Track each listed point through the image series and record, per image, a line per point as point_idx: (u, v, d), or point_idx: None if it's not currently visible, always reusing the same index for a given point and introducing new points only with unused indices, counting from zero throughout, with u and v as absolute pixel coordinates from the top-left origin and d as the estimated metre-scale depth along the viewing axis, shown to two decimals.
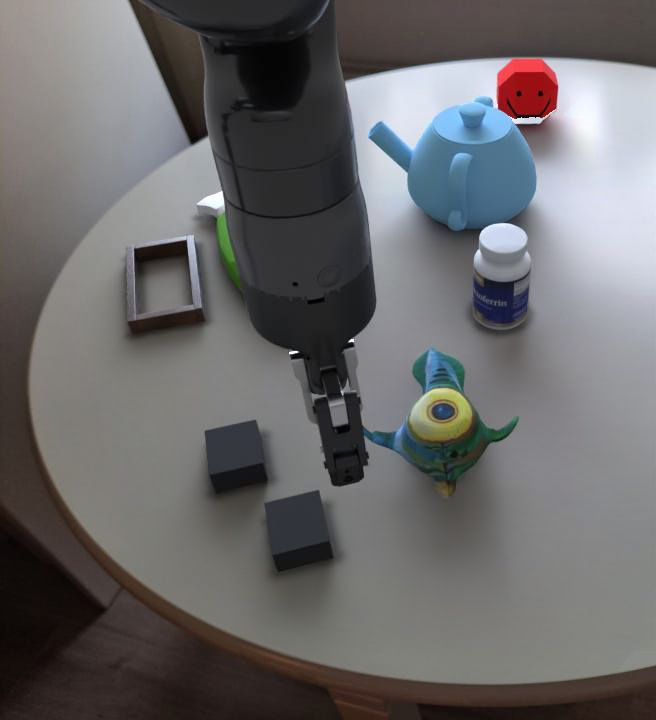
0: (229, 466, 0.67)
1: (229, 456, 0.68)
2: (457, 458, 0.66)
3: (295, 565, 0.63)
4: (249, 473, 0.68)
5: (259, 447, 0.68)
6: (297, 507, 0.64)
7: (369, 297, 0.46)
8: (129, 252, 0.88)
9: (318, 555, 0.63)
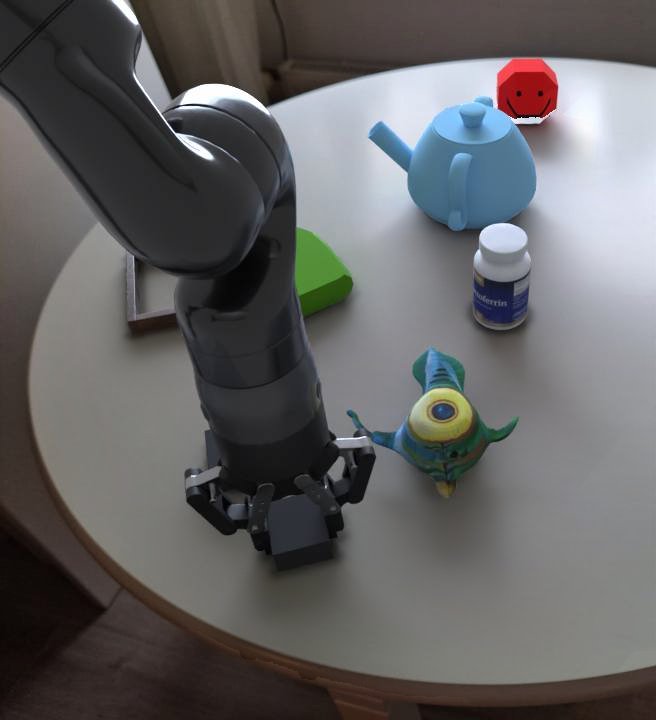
0: None
1: None
2: (457, 458, 0.66)
3: (295, 565, 0.63)
4: None
5: None
6: (297, 507, 0.64)
7: (242, 464, 0.52)
8: (129, 252, 0.88)
9: (318, 555, 0.63)
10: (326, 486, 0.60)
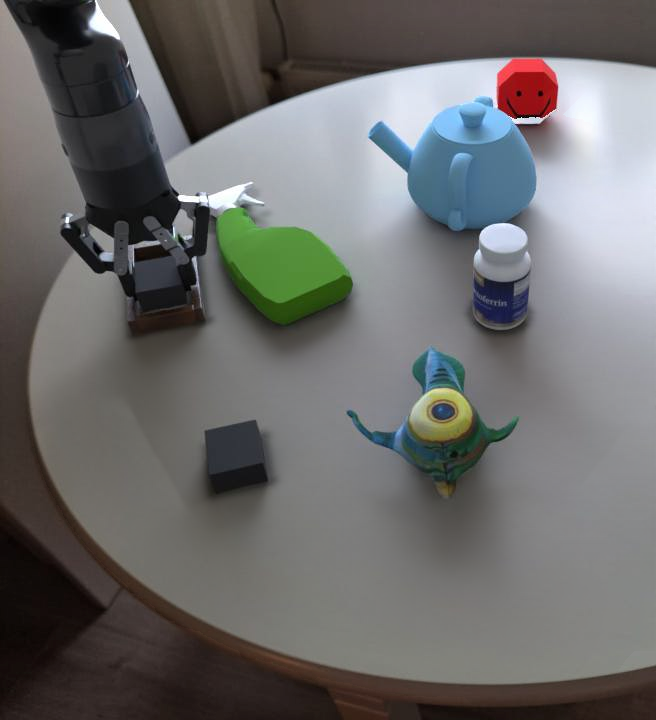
0: (229, 466, 0.67)
1: (229, 456, 0.68)
2: (457, 458, 0.66)
3: (156, 306, 0.81)
4: (249, 473, 0.68)
5: (259, 447, 0.68)
6: (159, 265, 0.82)
7: (94, 192, 0.70)
8: (129, 252, 0.88)
9: (174, 299, 0.81)
10: (174, 237, 0.79)
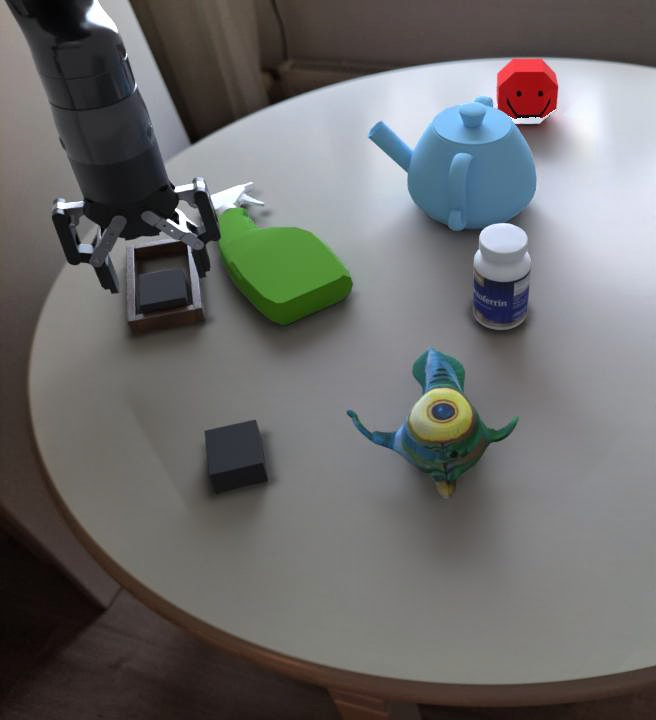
0: (229, 466, 0.67)
1: (229, 456, 0.68)
2: (457, 458, 0.66)
3: None
4: (249, 473, 0.68)
5: (259, 447, 0.68)
6: (164, 277, 0.84)
7: (92, 186, 0.70)
8: (129, 252, 0.88)
9: None
10: (181, 225, 0.78)
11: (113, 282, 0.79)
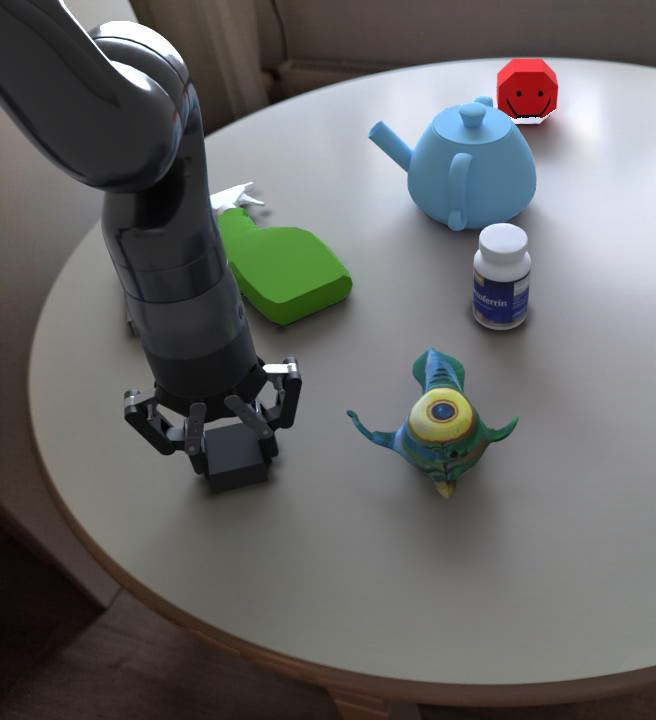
0: (229, 466, 0.67)
1: (229, 456, 0.68)
2: (457, 458, 0.66)
3: None
4: (250, 473, 0.68)
5: (259, 447, 0.68)
6: None
7: (171, 379, 0.57)
8: None
9: None
10: (257, 410, 0.65)
11: None
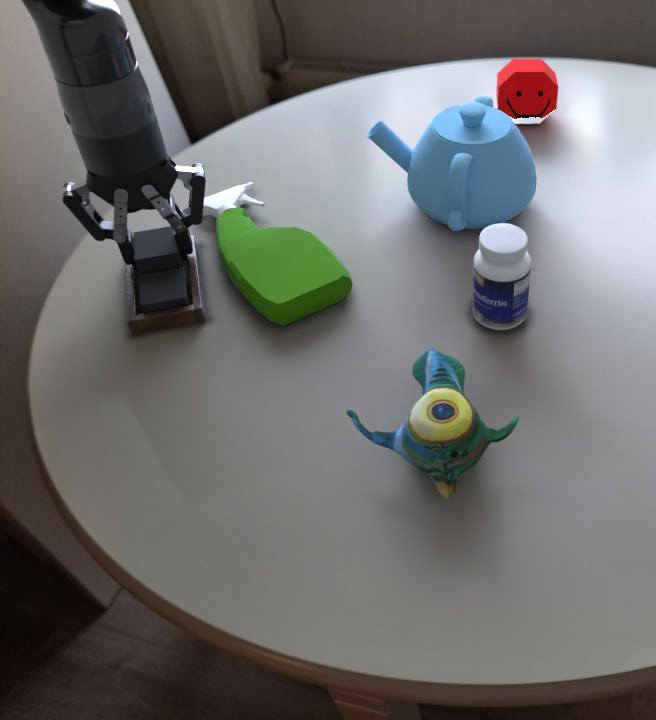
0: (150, 254, 0.84)
1: (152, 248, 0.84)
2: (457, 458, 0.66)
3: None
4: (168, 262, 0.84)
5: (176, 243, 0.85)
6: (164, 277, 0.84)
7: (95, 159, 0.74)
8: None
9: None
10: (172, 206, 0.82)
11: None
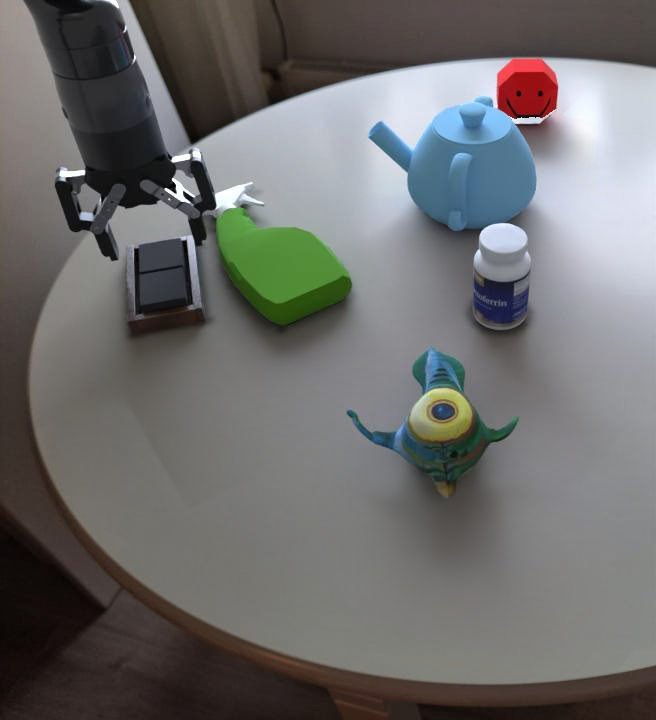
0: (155, 266, 0.85)
1: (157, 260, 0.85)
2: (457, 458, 0.66)
3: None
4: None
5: (181, 255, 0.86)
6: (164, 277, 0.84)
7: (93, 154, 0.73)
8: (129, 252, 0.88)
9: None
10: (178, 194, 0.81)
11: (113, 249, 0.83)
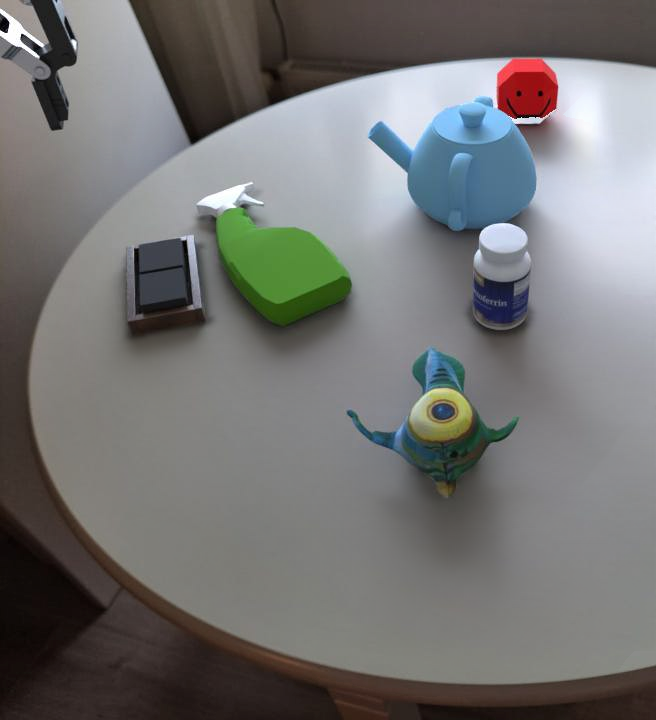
0: (155, 266, 0.85)
1: (157, 260, 0.85)
2: (457, 458, 0.66)
3: None
4: None
5: (181, 255, 0.86)
6: (164, 277, 0.84)
7: None
8: (129, 252, 0.88)
9: None
10: (10, 34, 0.50)
11: None
